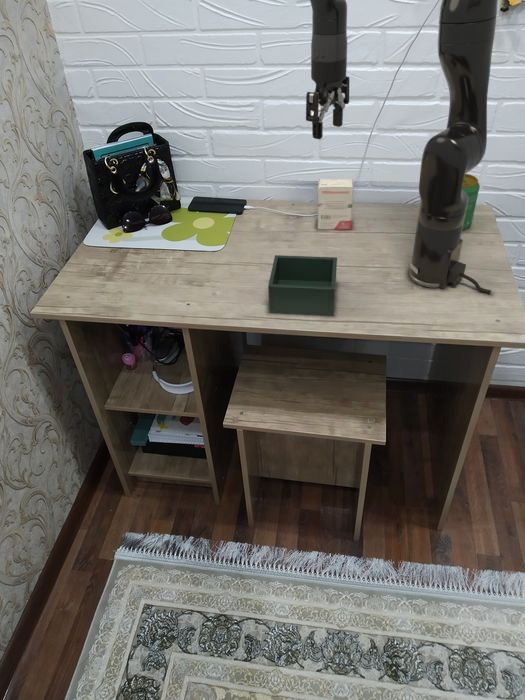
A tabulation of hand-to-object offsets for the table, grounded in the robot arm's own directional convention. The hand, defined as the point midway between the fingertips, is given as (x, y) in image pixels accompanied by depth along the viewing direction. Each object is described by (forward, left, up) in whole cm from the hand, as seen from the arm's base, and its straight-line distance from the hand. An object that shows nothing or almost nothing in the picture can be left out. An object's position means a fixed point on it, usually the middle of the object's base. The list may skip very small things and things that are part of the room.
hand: (327, 132), depth 131 cm
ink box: (-2, -1, -24) cm, 25 cm away
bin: (-13, +28, -24) cm, 40 cm away
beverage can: (-27, -18, -24) cm, 41 cm away
